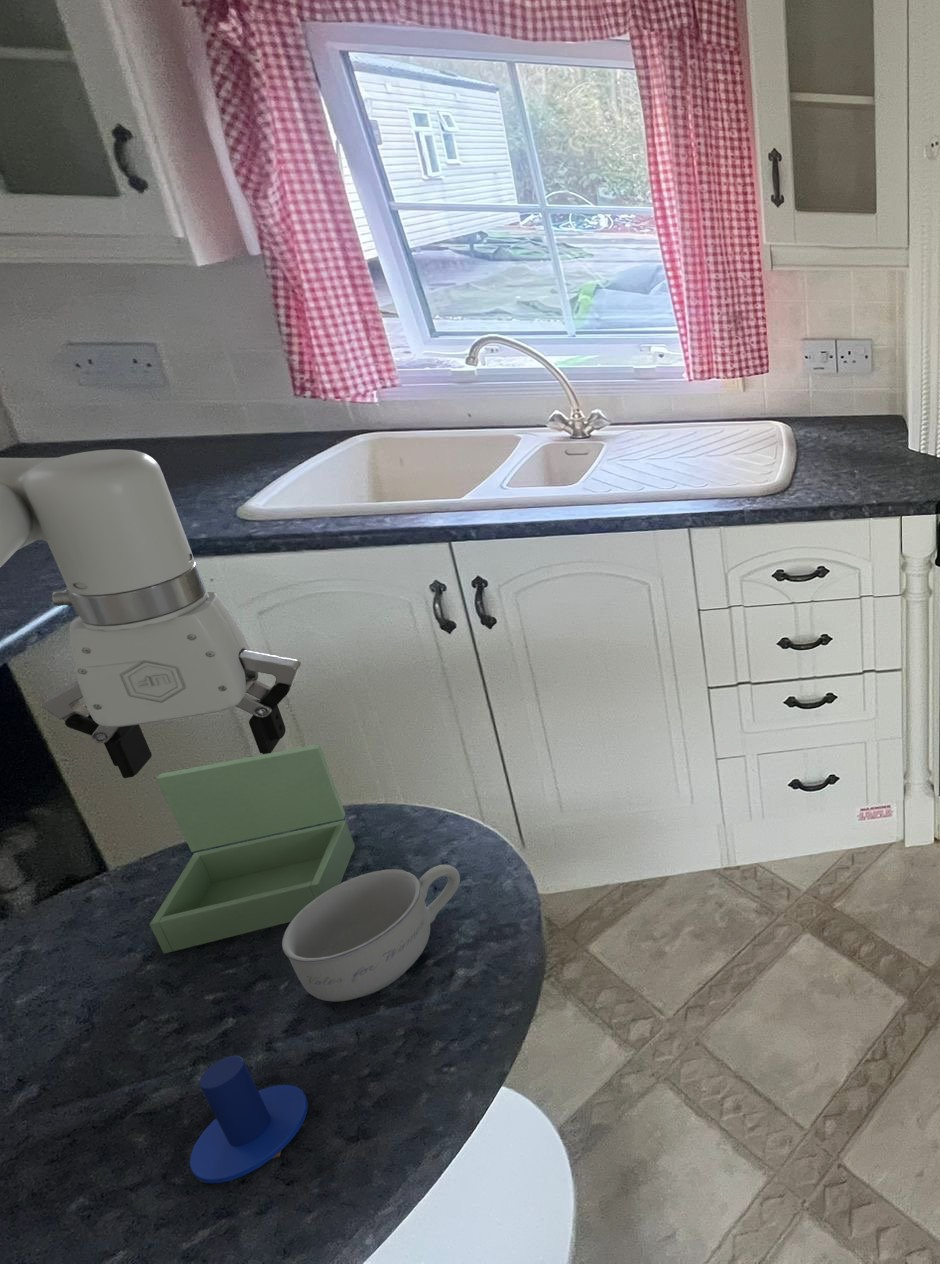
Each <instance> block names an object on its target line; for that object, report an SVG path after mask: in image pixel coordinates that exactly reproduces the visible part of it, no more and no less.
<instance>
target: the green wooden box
mask: <svg viewBox="0 0 940 1264" xmlns="http://www.w3.org/2000/svg"><path fill="white" fill-rule="evenodd" d="M355 848H356V846H355V842H354V840H353V837H352V834H351V831H350V828H349V825H348V822H347V820H346V819H342V820H338V821H333V822H329V823H324V824H319V825H315V826H310V827H306V828H301V829H296V830H292V831H287V832H283V833H278V834H274V835H269V836H264V837H260V838H255V839H251V840H246V841H241V842H237V843H232V844H228V845H223V846H219V847H214V848H209V849H205V850H203V851H202V850H200V851H196V852H193V855H191V857H190V859H189V861H188V862H187V863H186V866H185V867H184V868H183V870H182V872H181V874H180V876H178V879H176V881H175V883H174V885H173V886H172V887H171V890H170V891H169V892H168V894H167V896H166V898H165V899H164V901H163V902H162V904H161V906H160V907H159V909H158V910H157V912H156V914H155V915H154V916H153V918H152V920H151V921H150V922H149V926H150V929H151V930H152V933H153V934H154V937H155V939H156V942H157V943H158V945H159V947H160V949H161V951H162V953H163V954H168V953H172V952H177V951H180V950H184V949H189V948H193V947H195V946H196V947H197V946H200V945H204V944H207V943H212V942H216V941H220V940H224V939H228V938H231V937H235V936H239V935H243V934H247V933H252V932H256V931H258V930H263V929H268V928H271V927H276V926H280V925H284V924H287V923H291V921H292V920H293V919H294V918H295V916H296V915H297V914H298V913H299V912H300V911H301V910H302V909H303V908H304V907H306V906H307V905H308V904H309V903H310V902H312V901H313V900H315V899H316V898H317V897H319V896H320V895H322V894H323V893H325V892H326V891H328V890H329V889H331V888H333V887H335V886H337V885H339V884H341V883H342V881H343V878H344V875H345V873H346V870H347V868H348V866H349V863H350V860H351V858H352V855H353V853H354V851H355Z"/></svg>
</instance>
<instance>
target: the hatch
mask: <svg viewBox="0 0 940 1264" xmlns="http://www.w3.org/2000/svg"><path fill="white" fill-rule="evenodd" d="M156 781H157V783H158V785H159V787H160V789H161V792H162V794H163V796H164V798H165V800H166V802H167V804H168V806H169V809H170V810H171V813H172V815H173V817H174V819H175V821H176V823H177V825H178V827H179V829H180V832H181V834H182V836H183V837H184V839H185V842H186V843H187V846H188V848H189V850H190V852H191V853H195V852H200V851H202V850H203V851H204V850H209V849H213V848H218V847H223V846H227V845H232V844H236V843H241V842H246V841H250V840H255V839H259V838H264V837H269V836H273V835H278V834H282V833H287V832H292V831H296V830H301V829H305V828H310V827H314V826H319V825H324V824H328V823H333V822H337V821H342V820H345V817H346V811H345V809H344V806H343V804H342V801H341V798H340V796H339V795H340V794H339V792H338V789H337V788H336V784H335V782H334V778H333V776H332V773H331V771H330V767H329V765H328V763H327V760H326V757H325V754H324V752H323V748H322V746H321V744H320V743H318V744H312V745H307V746H302V747H296V748H291V749H286V750H285V749H284V750H281V751H276V752H271V753H268V754H259V755H253V756H248V757H243V758H238V759H233V760H226V761H222V762H215V763H211V764H205V765H199V766H194V767H190V768H185V769H179V770H174V771H168V772H163V773H160V774H158V776H157V777H156Z"/></svg>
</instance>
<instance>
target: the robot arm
mask: <svg viewBox="0 0 940 1264" xmlns="http://www.w3.org/2000/svg"><path fill="white" fill-rule="evenodd" d="M36 541H44V542H46V543H47V545H48V547H49V550H50V552H51V554H52V556H53V559H54V562H55V563H56V566H57V567H58V571H59V572H60V575H61V577H62V580H63V581H64V583H65V586H66V587H65V589H56V590H54V591H53V592H52V594H51V601H52V603H53V605H55V606H56V607H61V606H67V607H73V610H74V612H75V614H76V616H77V618H74V619H73V620H72V621H71V622H70V623H69V625H68V626H69V627H68V628H69V629H68V630H69V642H70V643H69V644H70V650H71V651H70V652H71V657H72V661H73V668H74V672H75V675H76V679H77V681H75V682H73V683H71V684H69V685H67V686H65V687H63V688H62V689H59V690H58V691H56V692H54V693H52V694H51V695H50V696H49V697H48V698H47V699H45V700H44V701H43V702H42V703H41V707H42V709H44V710H45V711H46V712H48V713H50V714H51V715H53V716H54V717H56V718H57V719H59V720H60V721H61V720H63V721H64V724H65V726H66V727H68V728H69V729H72V730H74V731H77V732H80V733H82V734H86V735H89V736H90V738H91V740H92V741H93V742H94V743H98V744H103V745H104V746H105V749H106V751H107V753H108V755H109V758H110V761H111V762H112V764H113V766H114V767H118V770H119V772H120V774H121V776H122V778H123V779H130V778H134V777H135V776H136V775H138V774H139V772H140V771H141V770H142V769H143V768H144V766H145V765H146V764H147V763H148V761H149V760H150V759H151V758H152V751H151V748H150V747H149V744H148V742H147V740H146V737H145V736H144V732H143V731H142V728H141V726H140V725H144V724H150V723H157V722H163V721H165V722H166V721H171V720H177V719H183V718H190V717H196V716H201V715H202V716H203V715H209V714H213V713H214V714H215V713H221V712H224V711H227V710H230V709H232V708H234V707H236V708H238V709H240V710H242V711H244V712H246V713H248V714H251V715H252V716H251V717H250V718H249V721H248V725H249V728H250V730H251V733H252V736H253V739H254V742H255V744H256V746H257V749H258V751H259V754H261V755H264V754H269V753H273V751H274V750H275V748H276V746H277V745H278V743H279V742H280V740H281V739H282V738H284V736H285V734H286V724H285V721H284V718H283V717H282V714H281V711H280V707H279V704H280V703H281V702H282V700H283V699H284V698H286V696H287V695H288V694H289V692H290V691H291V689H292V688H293V687H294V685H295V682H296V679H297V677H298V674H299V671H300V669H301V666H302V663H301V661H300V660H299V659H294V658H289V657H285V656H284V657H283V656H278V655H274V654H268V653H262V652H257V651H251V649H250V646H249V643H248V641H247V640H246V637H245V635H244V633H243V631H242V630H241V627H240V626H239V625H238V623H237V621H236V619H235V617H234V616H233V614H232V613H231V612H230V610H229V609H228V607H227V605H226V604H225V603H224V602H223V600H222V599H221V598H220V597H219V595H217V593H216V592H214V591H207V589H206V586H205V584H204V582H203V579H202V577H201V573H200V570H199V568H198V565H197V563H196V560H195V558H194V555H193V552H192V549H191V546H190V543H189V541H188V537H187V534H186V532H185V530H184V527H183V525H182V522H181V519H180V517H179V514H178V511H177V508H176V506H175V503H174V501H173V498H172V494H171V492H170V490H169V487H168V483H167V481H166V479H165V476H164V473H163V471H162V469H161V466H160V464H159V463H158V462H157V460H156V459H154V458H153V457H152V456H150V455H149V454H147V453H145V452H142V451H138V450H134V449H121V448H120V449H117V448H116V449H99V450H98V449H97V450H91V451H82V452H76V453H71V454H67V455H62V456H58V457H0V568H2V567H3V566H4V564H6V563H7V561H8V560H10V559H11V557H12V556H14V554H15V553H16V552H17V551H18V550H21V549H23V548H24V547H26V546H28V545H31V544H32V543H35V542H36ZM259 673H260V674H267V675H272V676H274V678H275V681H274V685H272V687H271V686H269V685H267V684H266V683H263V682H261V681H259V680H258V679H259ZM81 699H83V701H84V703H85V705H84V703H82V702H81V701H80V700H81Z"/></svg>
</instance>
